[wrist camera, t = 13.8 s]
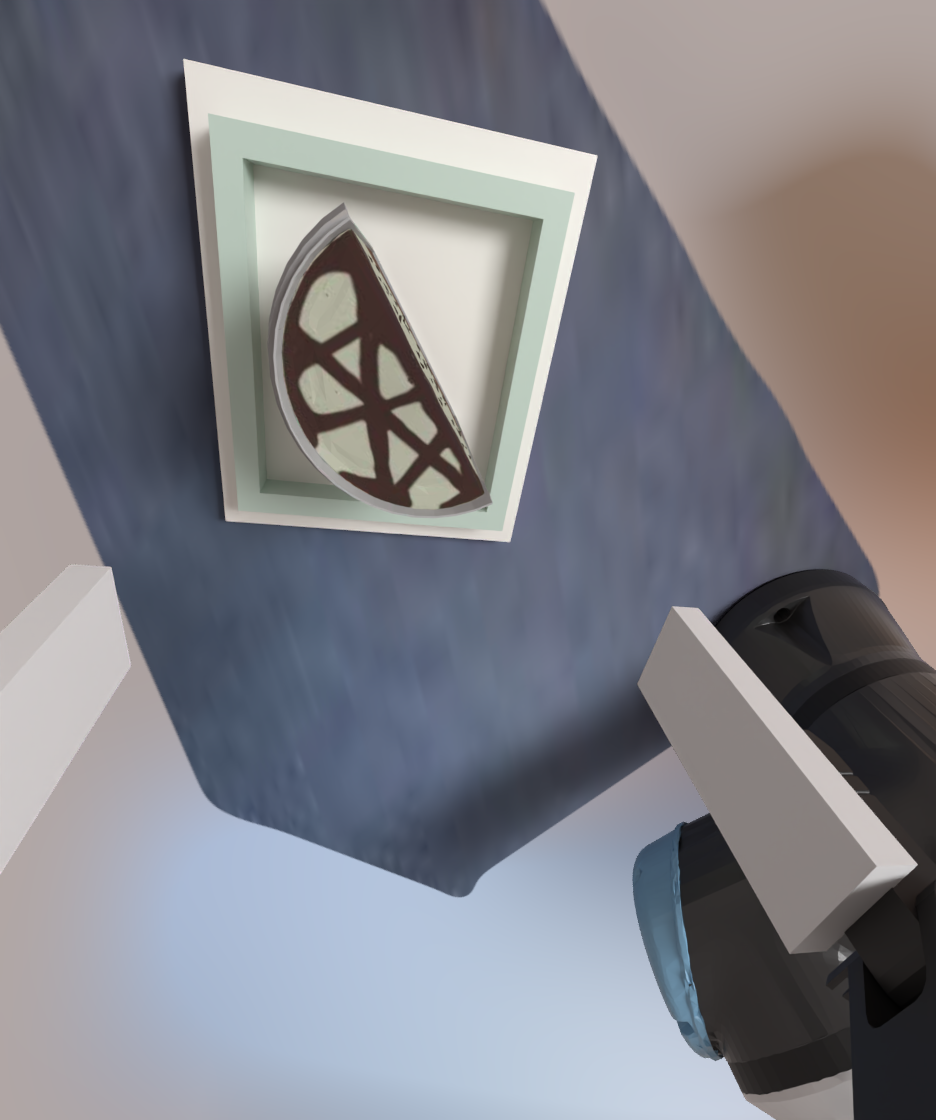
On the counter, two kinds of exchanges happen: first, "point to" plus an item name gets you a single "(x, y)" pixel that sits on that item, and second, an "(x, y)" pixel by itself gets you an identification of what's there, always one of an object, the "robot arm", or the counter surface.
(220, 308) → the pocket plate
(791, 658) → the robot arm
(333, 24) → the counter surface
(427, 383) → the food container
